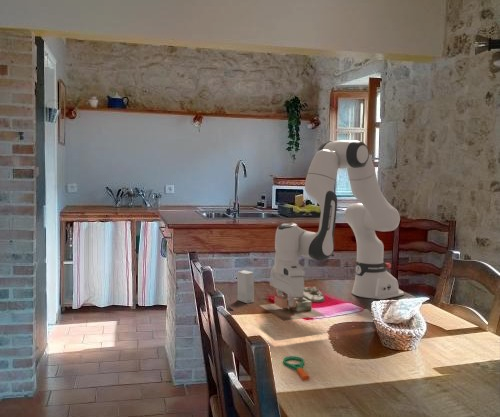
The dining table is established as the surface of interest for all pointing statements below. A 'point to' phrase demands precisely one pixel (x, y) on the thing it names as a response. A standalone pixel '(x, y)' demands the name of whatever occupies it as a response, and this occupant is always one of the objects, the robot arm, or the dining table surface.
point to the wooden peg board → (293, 309)
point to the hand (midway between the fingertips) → (285, 303)
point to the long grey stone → (313, 294)
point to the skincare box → (245, 286)
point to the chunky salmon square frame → (283, 302)
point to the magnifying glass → (297, 366)
